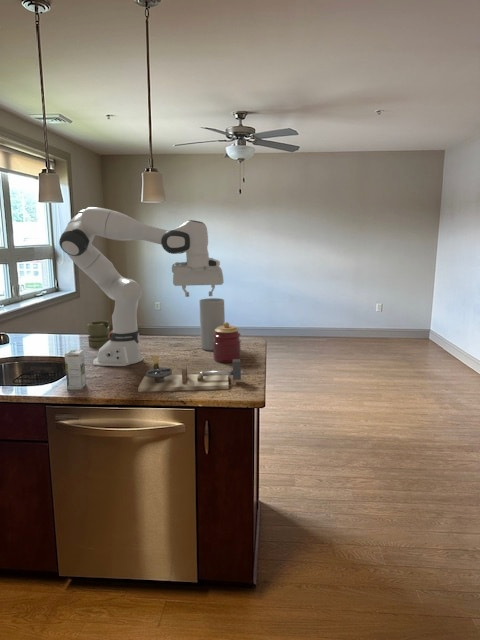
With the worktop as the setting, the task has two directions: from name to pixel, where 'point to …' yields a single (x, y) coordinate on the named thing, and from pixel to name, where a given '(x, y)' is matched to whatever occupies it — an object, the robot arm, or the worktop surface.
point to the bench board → (176, 384)
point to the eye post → (184, 373)
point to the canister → (226, 343)
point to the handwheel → (158, 370)
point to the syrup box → (75, 369)
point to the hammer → (235, 372)
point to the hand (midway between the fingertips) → (199, 296)
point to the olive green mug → (98, 333)
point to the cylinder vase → (210, 320)
